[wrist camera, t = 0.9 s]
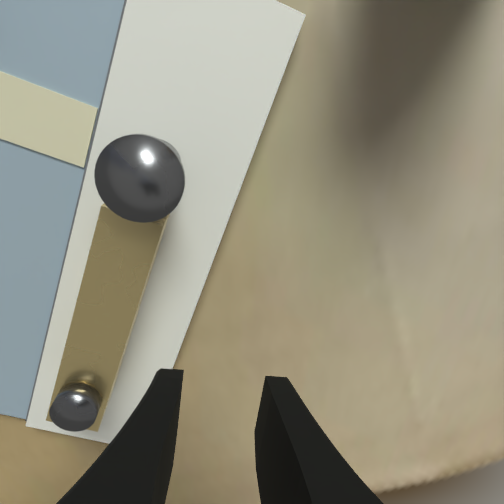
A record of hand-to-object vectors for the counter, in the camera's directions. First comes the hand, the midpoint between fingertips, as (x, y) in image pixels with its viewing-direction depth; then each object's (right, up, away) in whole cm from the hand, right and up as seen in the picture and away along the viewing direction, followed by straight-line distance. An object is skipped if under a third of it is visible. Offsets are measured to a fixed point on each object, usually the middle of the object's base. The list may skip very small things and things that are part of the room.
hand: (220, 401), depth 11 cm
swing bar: (-5, +2, +6) cm, 8 cm away
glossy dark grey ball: (-3, +8, +6) cm, 10 cm away
